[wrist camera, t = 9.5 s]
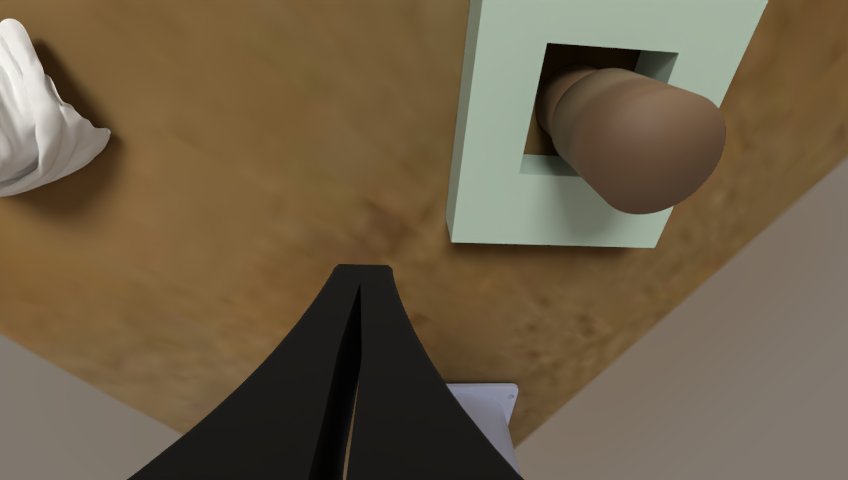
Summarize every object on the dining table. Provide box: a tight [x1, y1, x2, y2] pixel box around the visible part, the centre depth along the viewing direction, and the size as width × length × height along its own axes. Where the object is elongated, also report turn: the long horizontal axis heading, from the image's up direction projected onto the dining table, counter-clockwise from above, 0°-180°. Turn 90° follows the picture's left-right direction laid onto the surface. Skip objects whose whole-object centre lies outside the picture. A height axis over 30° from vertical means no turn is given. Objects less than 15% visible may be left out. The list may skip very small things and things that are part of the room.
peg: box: [535, 64, 726, 215], centre depth 15 cm, size 4×4×7 cm
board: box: [446, 0, 768, 248], centre depth 17 cm, size 12×10×2 cm
